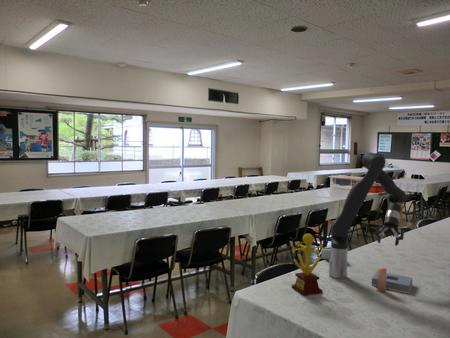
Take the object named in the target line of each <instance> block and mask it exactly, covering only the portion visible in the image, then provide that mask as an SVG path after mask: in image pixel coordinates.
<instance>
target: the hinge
mask: <svg viewBox="0 0 450 338" xmlns="http://www.w3.org/2000/svg"><path fill="white" fill-rule="evenodd" d="M321 259H322V260H328V261H330V259H331V246H327V247H326V246H325V247H323V250H321ZM347 263H348V260H347Z"/></svg>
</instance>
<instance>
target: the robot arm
mask: <svg viewBox="0 0 450 338" xmlns="http://www.w3.org/2000/svg"><path fill="white" fill-rule="evenodd" d="M361 160H362V161H361V162H362V165H363V167H364V168H366V170H367V172H366V173H365V175H364V176H363V177H362V178H361V179H360V180H359V181H358V182H356V183H355V184H353V185H352V187H351V188H350V190H349V192H348V194H347V196H346V198H345V202H344V205H343V207H342V211H341V212H340V215H339V217H338V218H337V219H334V220H333V222H332V224H331V227H330V230H331V231H330V236H331V237H330V247H331V259H330V260H329V268H328V273H329V274H328V275H329V277H331V278H334V279H338V280H339V279H340V280H344V279H347V276H348V262H347V261H348V254H349V253H348V251H349V242H348V241H349V239H348V234H349V231H350V228H351V226H352V224H353V221H354V219H355V217H356V215H357V214H358V212H359V211H360V209H361V207H362V206H363V204H364V202H365V200H366V198H367V197H368V194H369V192H370V191H371V189H372V187H373V185H374V183H375V182H376V180H377V183H379V184H380V186H381V187H382V189H383V191H384V192H385V193H386V201H387V210H386V213H385V217H384V222H383V226H380V225H376V229H375V232H374V235H375V237H377V239H376V241H377V243H378V244H381V242H382V241H381V239H382V237H384V236H391V237H392V236H393V237H394V238H395V242H394V245H395V247H397V246H398V245H399V242H400V241H403V240H404V236H405V231H404V228H401V229H400V228H399V225H400V220H401V211H402V206H401V205H400V204H404V203H406V202H407V199H408V197H407V196H408V195H407V194H406V192H405V191H404V190H403V189H401V188H400V187H399V186H397V184H396V183H395V181H394V180H393V178H391V176H390V175H388V173H386V172H385V170H383V169H384V168H385V165H386V159H385V157H384V156H382V155H380V154H376V153H374V152H368V153H365V154H364V155H363V157H362V159H361ZM398 233H399V234H400V236H399V234H398Z"/></svg>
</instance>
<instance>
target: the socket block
mask: <svg viewBox="0 0 450 338" xmlns="http://www.w3.org/2000/svg"><path fill="white" fill-rule="evenodd" d="M371 286H373V287H378V270H377V271H376V273H374V275H373V276H372V278H371ZM412 287H413V277H410V276H403V275H399V274H393V273H389V272H386V290H391V291H396V292H401V293H405V294H410V291H411V290H412V289H411V288H412Z"/></svg>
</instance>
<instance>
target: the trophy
mask: <svg viewBox="0 0 450 338" xmlns="http://www.w3.org/2000/svg"><path fill="white" fill-rule="evenodd" d="M314 239H315V237H314V236H313V235H312V234H311V233H305V234H304V235H303V236H302V242H303V244H304V245H303V244H301V242H300V241H297V243H296V244H297V245H296V246H297V248H296V247H295V246H292V247H291V250H292V253H294V254H295V253H296V251H302V252H303V253H304V255H305V263H304V260H303V258H302V255H301V253H299V254H297V257H298V258H299V261H300V263H298V261H297V259H293V262H294V263H295V264H296V265H297V266H298V268H299V269H300V270H301V271H302V272H297V273H294V274H295V275H294V276H295V277H296V280H295V284H292V285H291V288H292V289H293V290H294V291H295V292H297V293H298V294H300V295H301V296H303V297H307V296H313V295H320V294H323V289H322V288H320V287H319V283H318V280H320V276H318V275H316V274H315V273H314V272H313V270H315V269H316V267H317V265H318V264H319V262H320V260H321V259H322V256H320V251H322V250H323V248H324V244H319V246H311V245H312V244H313V243H314V241H315V240H314ZM311 253H315V256H317V259H316V260H315V262H314V263H313V264H312V265H311V266H310V255H311ZM318 256H319V257H318ZM300 264H301V265H300Z"/></svg>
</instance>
